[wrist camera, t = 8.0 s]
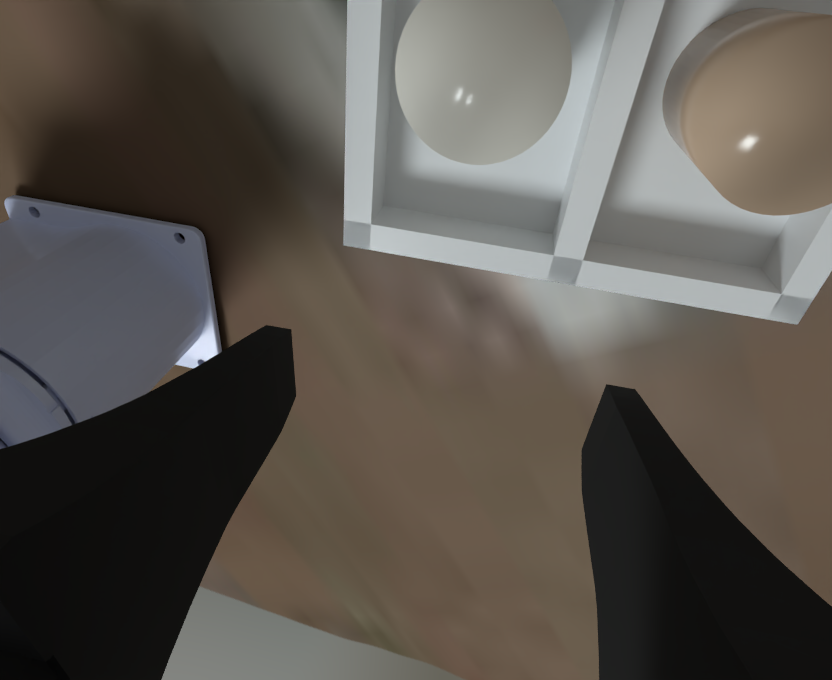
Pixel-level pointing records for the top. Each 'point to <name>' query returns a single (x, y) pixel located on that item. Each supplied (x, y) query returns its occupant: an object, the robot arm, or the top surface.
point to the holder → (578, 175)
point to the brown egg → (758, 108)
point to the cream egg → (483, 75)
